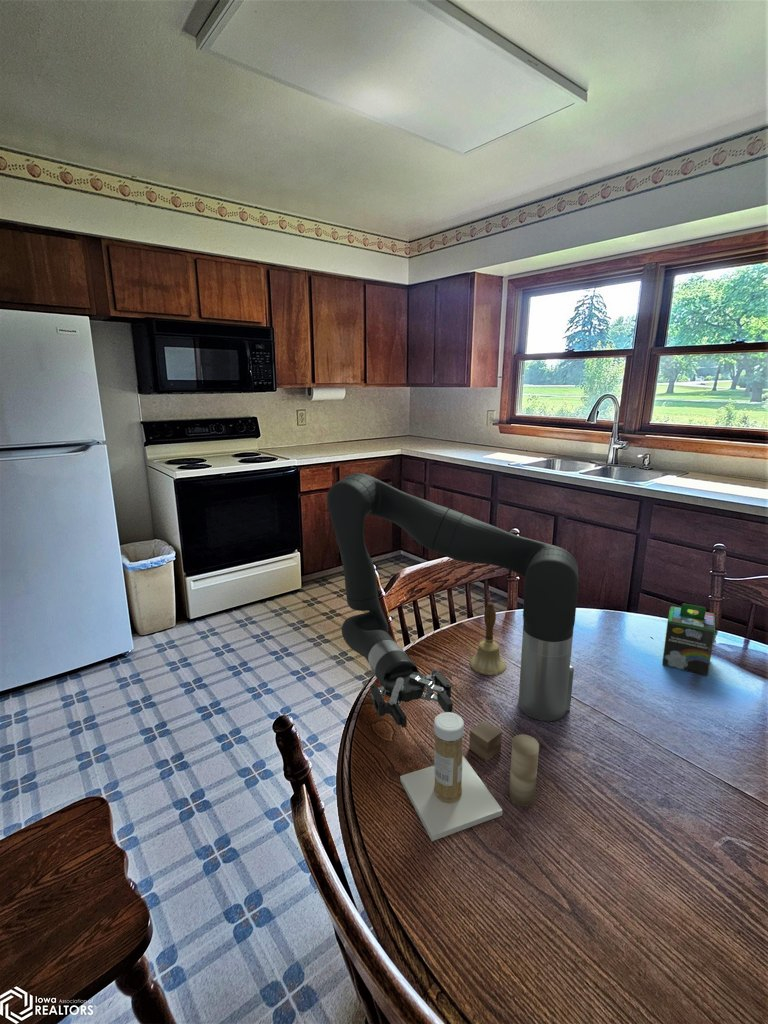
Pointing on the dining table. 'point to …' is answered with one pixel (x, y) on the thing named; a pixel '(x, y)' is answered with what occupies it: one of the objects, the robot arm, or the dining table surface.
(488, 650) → the hand bell
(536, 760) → the beech dowel
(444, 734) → the sprinkles bottle
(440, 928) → the dining table surface
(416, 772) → the ceramic tile
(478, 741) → the walnut block
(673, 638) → the chalk box
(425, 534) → the robot arm
